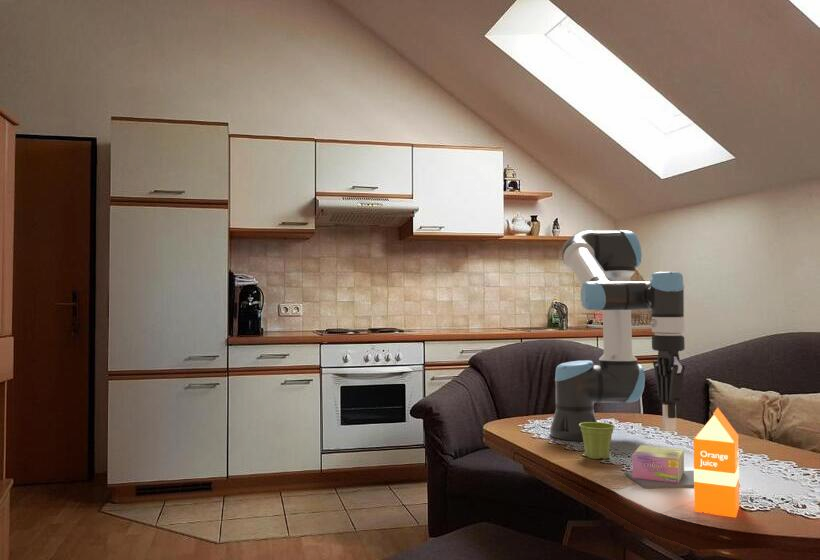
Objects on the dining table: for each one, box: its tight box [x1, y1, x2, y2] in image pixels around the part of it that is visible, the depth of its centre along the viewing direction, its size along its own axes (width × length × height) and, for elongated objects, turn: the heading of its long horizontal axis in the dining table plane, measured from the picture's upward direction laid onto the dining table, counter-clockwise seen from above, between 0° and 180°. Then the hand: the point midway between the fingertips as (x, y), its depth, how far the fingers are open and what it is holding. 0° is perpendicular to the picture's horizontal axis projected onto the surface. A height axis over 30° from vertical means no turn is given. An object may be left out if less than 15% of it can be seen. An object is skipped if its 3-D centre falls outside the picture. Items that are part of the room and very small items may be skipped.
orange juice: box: [693, 407, 740, 518], centre depth 135 cm, size 8×9×20 cm
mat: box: [624, 470, 741, 489], centre depth 156 cm, size 12×22×1 cm, turn 93°
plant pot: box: [579, 421, 616, 460], centre depth 180 cm, size 9×9×9 cm
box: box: [631, 444, 685, 484], centre depth 158 cm, size 10×6×12 cm
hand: (669, 430), depth 162 cm, fingers closed
